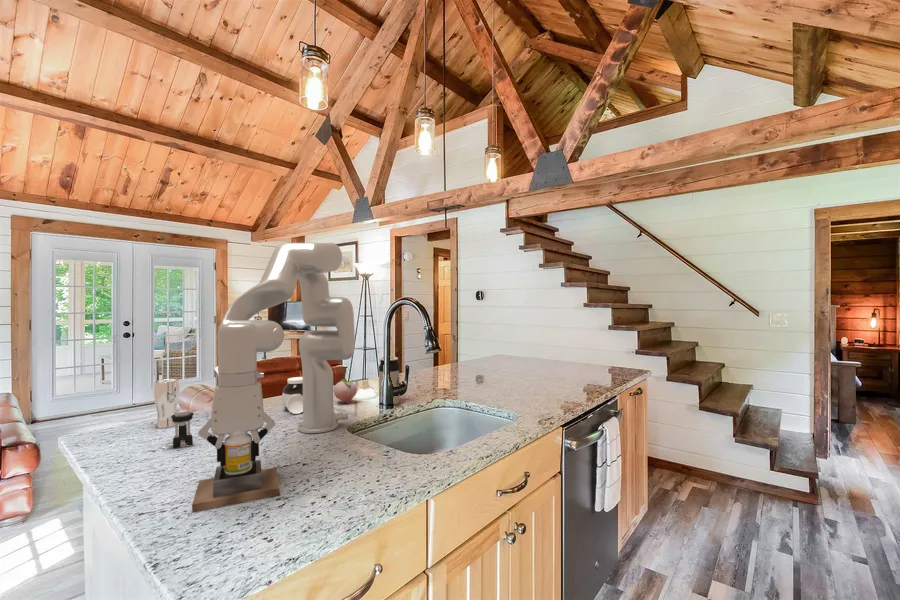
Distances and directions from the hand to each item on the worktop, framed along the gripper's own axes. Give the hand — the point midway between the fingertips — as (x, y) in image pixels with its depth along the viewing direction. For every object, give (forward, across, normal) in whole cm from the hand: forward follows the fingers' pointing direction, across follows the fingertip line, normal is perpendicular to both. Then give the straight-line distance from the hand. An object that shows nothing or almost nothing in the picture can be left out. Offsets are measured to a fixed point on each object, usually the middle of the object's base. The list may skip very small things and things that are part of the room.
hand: (238, 461), depth 90 cm
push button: (+7, +16, -38) cm, 42 cm away
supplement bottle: (+2, 0, 0) cm, 2 cm away
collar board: (+6, 0, 0) cm, 6 cm away
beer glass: (+7, +23, -63) cm, 67 cm away
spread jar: (+7, -18, -63) cm, 66 cm away
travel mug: (+7, -52, -58) cm, 78 cm away
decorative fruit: (+7, -36, -66) cm, 75 cm away
